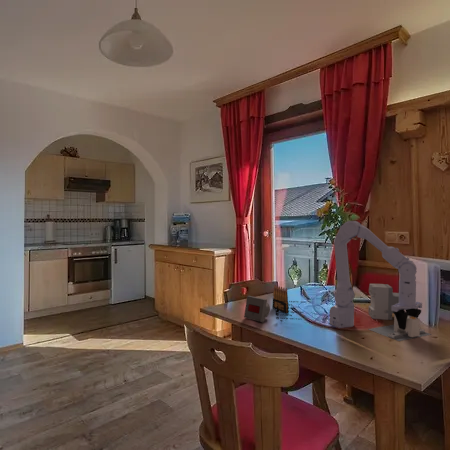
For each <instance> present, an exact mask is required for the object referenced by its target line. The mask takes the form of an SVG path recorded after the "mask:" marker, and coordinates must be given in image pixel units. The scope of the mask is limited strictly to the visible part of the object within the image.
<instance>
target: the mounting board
mask: <svg viewBox="0 0 450 450" xmlns="http://www.w3.org/2000/svg"><path fill="white" fill-rule="evenodd" d="M367 330H369V331H371V332H374V333H377V334H379V335H382V336H384V337H387V338H390V339H391V340H395V341H396V342H403V341H407V340H412V339H416V338H422V337H426V336H430V335H432V333H428V332H426V331H425V333H420V336H415V337H409V336H405V337H400V338H395V339H393V338H391V337H388V334H389V333H394V332H395V331H394V324H388V325H384V326H378V327H373V328H367Z"/></svg>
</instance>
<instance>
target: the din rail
mask: <svg viewBox="0 0 450 450" xmlns="http://www.w3.org/2000/svg"><path fill="white" fill-rule="evenodd" d="M425 332H426V331H425V329H423V328H420V333H425ZM405 336H408V332H407V331H400V332H394V333H389V334H388V337H387V338H389V337H391V338H390V339H392V338H393V339H392V340H394V339H395V338H400V337H405Z"/></svg>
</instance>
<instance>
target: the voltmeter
mask: <svg viewBox="0 0 450 450" xmlns="http://www.w3.org/2000/svg"><path fill="white" fill-rule="evenodd" d="M277 301H278V302H279V300H278V299H277V300H276V302H277ZM280 302H283V301H280ZM285 302H286V301H285ZM287 302H288V303H289V300H288V301H287ZM290 303H291V304H289V306H291V307H290V310H289V313H291V314H289V313H287V314H285V313H283V314H280V313H282V312H284V311H282V312H281V311H279V310H275V315H276V317H275V319H276V320H279V319H280V322H281V323H283V320H282V319H284V320H301V318H300V317H299V318H295V317H293V315H292V314H294V313H295V314H296V313H297V314H298V313H299V314H301V313H303V314H304V311H291V310H295V307H292V306H293V304H292V303H307V302H306V301H302V300H301V301H297V300H295V301H292V300H290ZM277 305H278V304H277ZM280 305H283V304H280ZM285 305H287V306H288V304H285ZM277 309H278V306H277ZM280 309H284V307H280ZM285 309H286V308H285ZM287 309H288V308H287ZM270 311H271V308H270V304H269V302H268V299H266V298H261V297H257V296H251V295H247V296H246V301H245V309H244V315H243V317H244V318H245V319H249V320H253V321H256V322H260V323H263V324H264V323H265V318H268V316H269V315H270ZM285 312H286V311H285ZM279 316H283V317H279ZM284 316H289V317H290V318H288V317H284ZM292 317H293V318H292Z"/></svg>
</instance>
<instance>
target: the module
mask: <svg viewBox="0 0 450 450" xmlns="http://www.w3.org/2000/svg"><path fill="white" fill-rule="evenodd" d="M393 317H394V318H393V325H394V331H395V332H400V331H407V332H408V336H409V337H415V336H420V329H421V327H420V325H421V323H420V322H421V318H420V317H418V318H416V317H412V316H409V315H408V317H407V321H406V328H405V330H403V329H400V328H399V325H398V322H397V319H396V316H395V314H394V315H393Z"/></svg>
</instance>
